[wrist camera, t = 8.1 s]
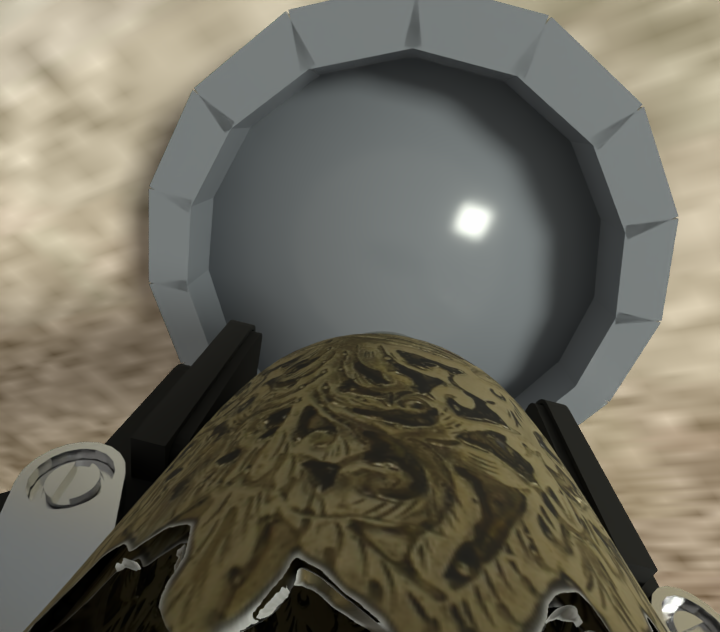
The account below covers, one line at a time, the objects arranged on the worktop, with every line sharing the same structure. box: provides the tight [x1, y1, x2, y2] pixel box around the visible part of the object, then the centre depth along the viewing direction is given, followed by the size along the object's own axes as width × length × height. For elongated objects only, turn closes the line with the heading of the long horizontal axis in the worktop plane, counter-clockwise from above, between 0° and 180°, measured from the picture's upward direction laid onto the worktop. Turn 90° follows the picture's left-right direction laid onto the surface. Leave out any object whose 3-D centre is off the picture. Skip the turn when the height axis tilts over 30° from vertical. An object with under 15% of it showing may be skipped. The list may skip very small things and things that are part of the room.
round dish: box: [149, 0, 678, 425], centre depth 17 cm, size 20×20×3 cm
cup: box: [23, 331, 668, 632], centre depth 7 cm, size 8×7×8 cm
